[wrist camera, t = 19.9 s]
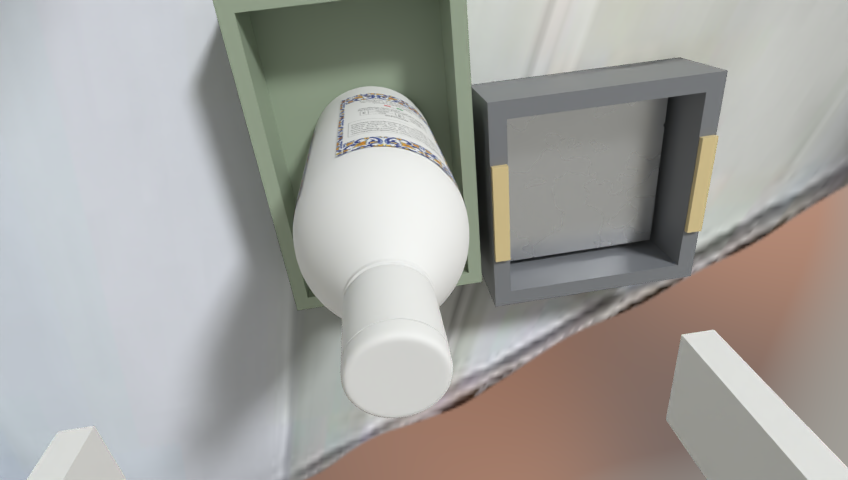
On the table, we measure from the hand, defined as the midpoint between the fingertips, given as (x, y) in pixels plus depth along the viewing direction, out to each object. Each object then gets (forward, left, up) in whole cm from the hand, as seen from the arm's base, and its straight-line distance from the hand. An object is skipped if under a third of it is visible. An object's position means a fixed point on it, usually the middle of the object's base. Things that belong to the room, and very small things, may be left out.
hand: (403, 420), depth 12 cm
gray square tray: (-13, +4, -22) cm, 26 cm away
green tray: (0, 0, -22) cm, 22 cm away
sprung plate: (-13, +4, -21) cm, 25 cm away
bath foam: (0, 0, -22) cm, 22 cm away
